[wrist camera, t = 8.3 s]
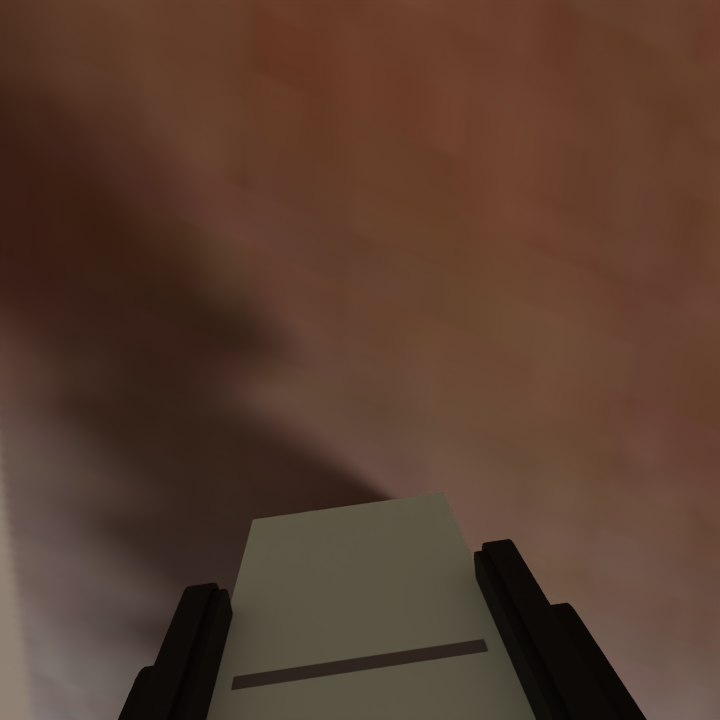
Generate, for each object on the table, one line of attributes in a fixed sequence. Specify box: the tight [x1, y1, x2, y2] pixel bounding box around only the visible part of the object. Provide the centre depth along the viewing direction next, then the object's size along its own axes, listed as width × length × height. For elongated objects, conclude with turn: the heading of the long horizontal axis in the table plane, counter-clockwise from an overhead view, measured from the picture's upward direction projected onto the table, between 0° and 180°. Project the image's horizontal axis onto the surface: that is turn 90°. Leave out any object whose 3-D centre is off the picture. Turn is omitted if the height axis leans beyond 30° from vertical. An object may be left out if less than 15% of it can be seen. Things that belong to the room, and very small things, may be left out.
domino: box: [206, 492, 536, 720], centre depth 8 cm, size 2×5×10 cm, turn 97°
